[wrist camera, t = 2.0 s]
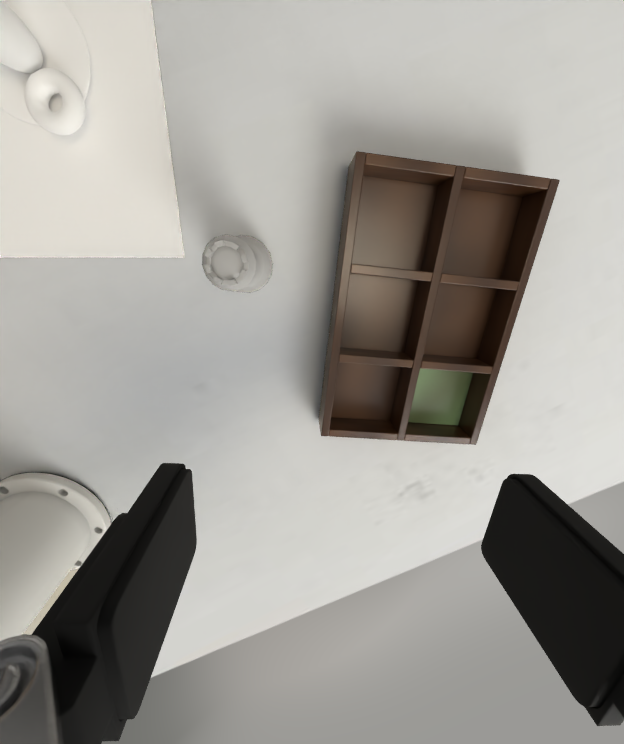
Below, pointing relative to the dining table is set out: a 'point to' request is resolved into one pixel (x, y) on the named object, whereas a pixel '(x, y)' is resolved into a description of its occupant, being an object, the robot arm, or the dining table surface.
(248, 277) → the rook chess piece
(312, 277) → the dining table surface
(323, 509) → the dining table surface
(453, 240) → the tray
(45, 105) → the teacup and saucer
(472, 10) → the dining table surface
